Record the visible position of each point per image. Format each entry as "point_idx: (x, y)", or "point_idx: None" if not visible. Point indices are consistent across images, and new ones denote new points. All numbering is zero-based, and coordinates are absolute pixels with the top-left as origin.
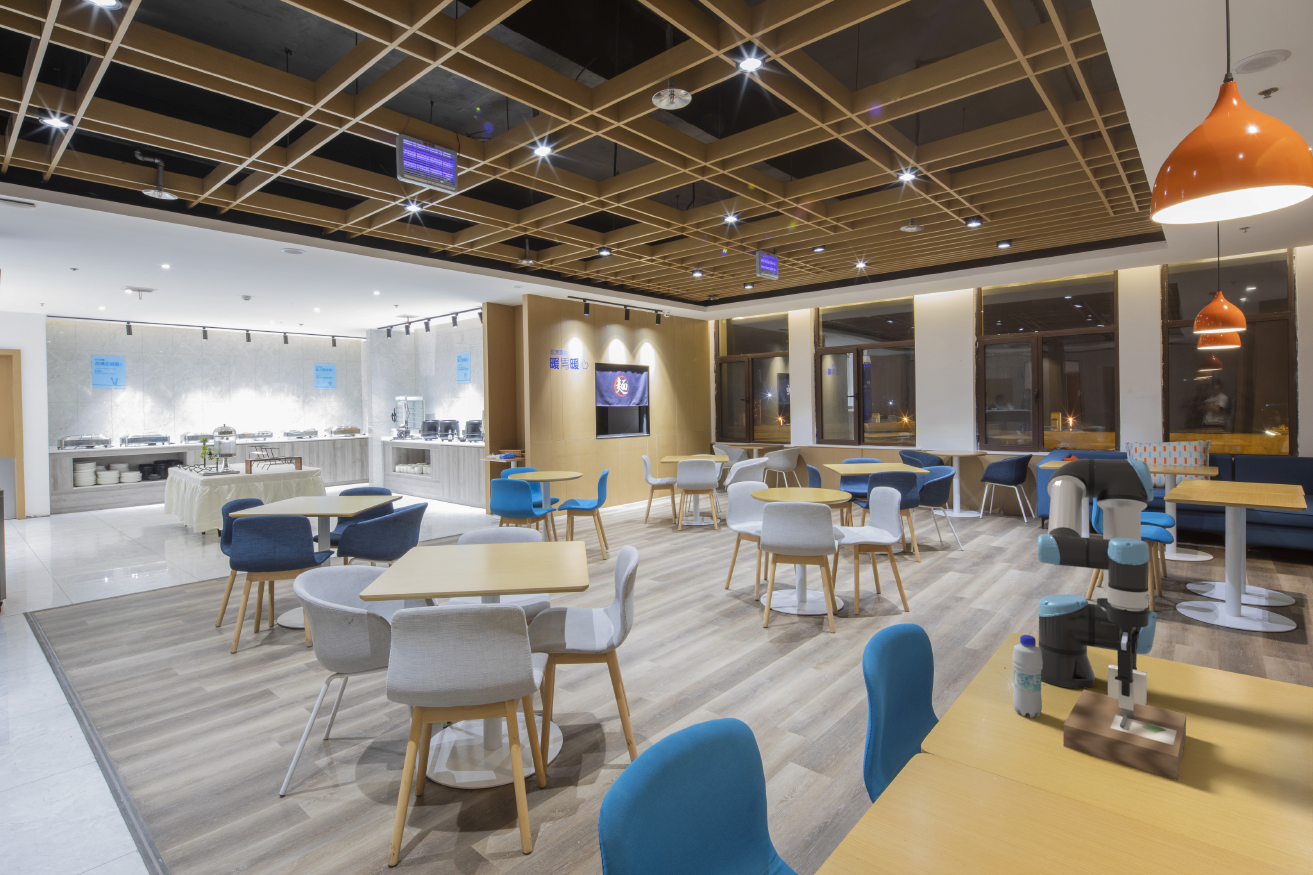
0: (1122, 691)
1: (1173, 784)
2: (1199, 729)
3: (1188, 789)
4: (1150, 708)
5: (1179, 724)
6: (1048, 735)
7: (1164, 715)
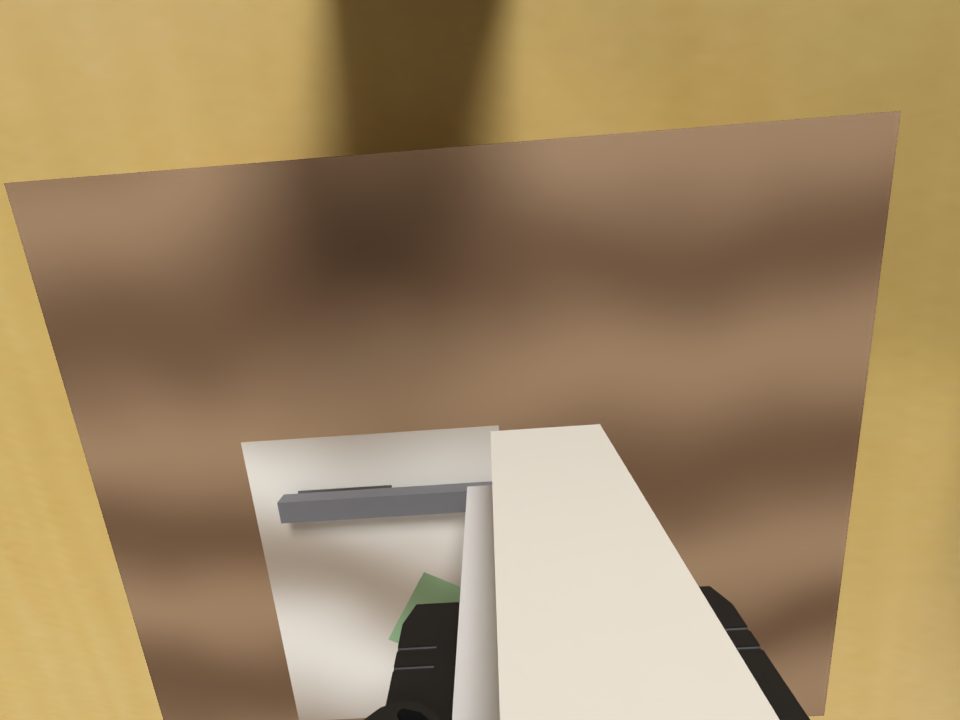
0: (399, 650)
1: None
2: (866, 643)
3: None
4: (787, 565)
5: None
6: (193, 83)
7: None
